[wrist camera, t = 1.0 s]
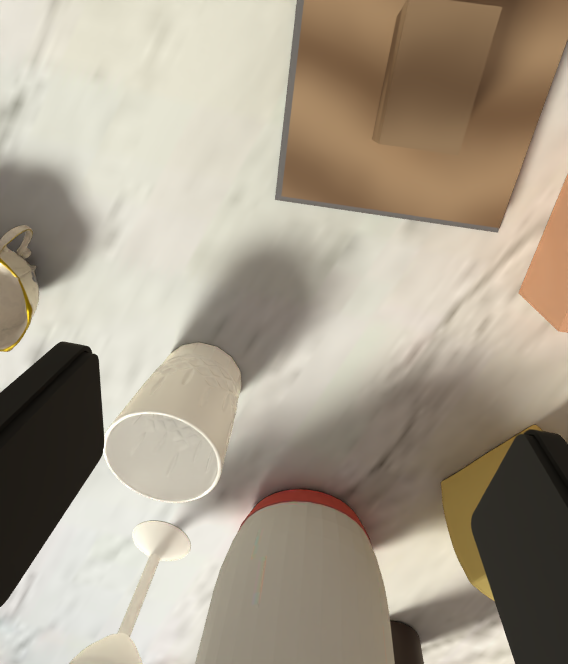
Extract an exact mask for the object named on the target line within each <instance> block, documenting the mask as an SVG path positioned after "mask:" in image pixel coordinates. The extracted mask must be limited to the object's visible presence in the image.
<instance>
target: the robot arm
mask: <svg viewBox="0 0 568 664" xmlns="http://www.w3.org/2000/svg"><path fill="white" fill-rule="evenodd" d="M103 450H104V429H103V414H102V400H101V386H100V372H99V359H98V356H97V355H96V354H92V350H91V349H90V347H88V346H84V345H79V344H74V343H68V342H60V343H58V344H57V345H55V346H54V347H53V348H52V349H51V350H50V351H48V352H47V353H46V354H45V355H44V356H43V357H41V358H40V359H39V360H38V361H37V362H36V363H34V364H33V365H32V366H31V367H30V368H29V369H27V370H26V371H25V372H24V373H23V374H22V375H21V376H19V377H18V378H17V379H16V380H15V381H14V382H12V383H11V384H10V385H9V386H8V387H7V388H5V389H4V390H3V391H2V392H1V393H0V607H1V606H2V605H3V604H4V603H5V602H6V601H7V599H8V598H9V597H10V595H11V594H12V592H13V591H14V589H15V588H16V586H17V585H18V583H19V581H20V580H21V578H22V577H23V575H24V574H25V572H26V571H27V569H28V568H29V566H30V565H31V563H32V562H33V560H34V559H35V557H36V556H37V554H38V553H39V551H40V550H41V548H42V547H43V545H44V544H45V542H46V541H47V539H48V538H49V536H50V535H51V533H52V531H53V530H54V528H55V527H56V525H57V524H58V522H59V521H60V519H61V518H62V516H63V515H64V513H65V512H66V510H67V509H68V507H69V506H70V504H71V503H72V501H73V500H74V498H75V497H76V495H77V494H78V492H79V491H80V489H81V488H82V486H83V485H84V483H85V481H86V480H87V478H88V477H89V475H90V474H91V472H92V471H93V469H94V468H95V466H96V465H97V463H98V462H99V460H100V458H101V456H102V454H103ZM471 529H472V533H473V536H474V539H475V542H476V545H477V549H478V552H479V555H480V558H481V561H482V564H483V567H484V570H485V573H486V576H487V579H488V582H489V585H490V588H491V591H492V594H493V597H494V600H495V603H496V606H497V609H498V612H499V615H500V618H501V622H502V625H503V628H504V631H505V634H506V637H507V640H508V643H509V646H510V649H511V652H512V655H513V658H514V661H515V664H568V444H567V443H566V442H565V440H564V439H563V438H562V437H561V436H560V435H558V434H555V433H549V432H544V431H539V430H533V429H529V430H527V431H525V432H524V434H519V435H517V436H516V437H515V439H514V441H513V442H512V444H511V446H510V448H509V450H508V451H507V453H506V455H505V457H504V458H503V460H502V462H501V464H500V466H499V467H498V469H497V471H496V473H495V475H494V476H493V478H492V480H491V482H490V484H489V485H488V487H487V489H486V491H485V493H484V494H483V496H482V498H481V500H480V502H479V503H478V505H477V507H476V509H475V510H474V512H473V515H472V518H471Z"/></svg>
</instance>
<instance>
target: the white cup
mask: <svg viewBox="0 0 568 664" xmlns="http://www.w3.org/2000/svg"><path fill="white" fill-rule="evenodd" d="M240 390H241V373H240V370H239V368H238V367H237V365H236V363H235V362H234V360H233V359H232V357H231V356H229V355H228V354H227V353H225V352H224V351H222V350H221V349H219V348H218V347H216V346H212V345H208V344H204V343H200V342H198V343H192V344H186V345H182V346H180V347H179V348H178V349H176V350H175V351H174V352H172V353H171V354H170V355H169V356H168V357H167V358H166V360H165V361H164V362H163V364H162V365H160V366H159V367H158V368H157V369H156V371H155V372H154V373H153V374H152V375H151V376H150V378H149V379H148V380H147V381H146V382H145V383H144V384H143V386H142V387H141V388H140V389H139V391H138V392H137V393H136V394H135V396H134V397H133V398H132V399H131V401H130V402H129V403H128V404H127V406H126V407H125V408H124V409H123V411H122V412H121V413H120V414H119V415H118V417H117V418H116V419H115V420H114V422H113V423H112V424H111V425H110V426H109V428H108V429H107V431H106V433H105V436H104V450H103V453H104V457H105V460H106V462H107V464H108V466H109V468H110V469H111V471H112V472H113V474H114V475H115V476H116V477H117V478H118V479H119V480H120V481H121V482H122V483H123V484H124V485H126V486H127V487H128V488H130V489H131V490H133V491H135V492H136V493H138V494H140V495H143V496H145V497H148V498H150V499H154V500H157V501H162V502H170V503H182V502H189V501H193V500H196V499H199V498H201V497H203V496H205V495H206V494H208V493H209V492H210V491H211V490H212V489H213V488H214V487H215V486H216V484H217V483H218V481H219V479H220V476H221V472H222V467H223V463H224V459H225V455H226V451H227V448H228V444H229V440H230V436H231V432H232V428H233V424H234V418H235V415H236V410H237V403H238V398H239V394H240Z"/></svg>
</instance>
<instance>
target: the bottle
mask: <svg viewBox="0 0 568 664" xmlns="http://www.w3.org/2000/svg"><path fill="white" fill-rule="evenodd" d="M390 626H391V635H392V643H393V652H394V661H395V664H424V662H423V656H422V650H421V644H420V638H419V636H418V634H417V632H416V631H415V630H413V629H412V628H411V627H410V626H408V625H406V624H403V623H400V622H395V621H390Z"/></svg>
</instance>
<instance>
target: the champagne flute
mask: <svg viewBox="0 0 568 664" xmlns="http://www.w3.org/2000/svg"><path fill="white" fill-rule="evenodd" d="M132 537H133V541H134V543H135V545H136V546H137V547H138V548H139V549H140V550H141V551H142V552H143V553H145V554H146V555H147V556H148V557H149V559H148V561H147V564H146V566H145V568H144V571H143V573H142V576H141V578H140V580H139V583H138V585H137V588H136V590H135V592H134V595H133V597H132V600H131V602H130V604H129V607H128V609H127V612H126V614H125V616H124V619H123V621H122V624H121V626H120V628H119V631H118V633H117V634H112V635H109V636H107V637H105V638H103V639H101V640H99V641H97V642H95V643H93V644H91V645H89V646H88V647H86V648H85V649H84V650H82V651H81V652H80V653H79V654H78V655H77V656H76V657H75V658H74V659H73V660H72V661H71V662H70V663H69V664H142V660H141V658H140V655H139V653H138V651H137V648H136V646H135V644H134V642H133V641H132V640H131V639H130V635H131V632H132V630H133V627H134V625H135V622H136V620H137V617H138V615H139V612H140V609H141V607H142V604H143V602H144V599H145V597H146V594H147V591H148V589H149V586H150V584H151V581H152V579H153V576H154V574H155V571H156V568H157V566H158V563H159V561H174V560H179V559H182V558H183V557H185V556H186V555H187V554H188V553H189V551H190V548H191V545H190V541H189V539H188V537H187V536H186V534H185V533H184V532H183V531H181V530H180V529H179V528H177V527H175V526H173V525H171V524H169V523H165V522H161V521H147V522H143V523H141V524H139V525H137V526H136V527H135V528H134V530H133V534H132Z"/></svg>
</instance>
